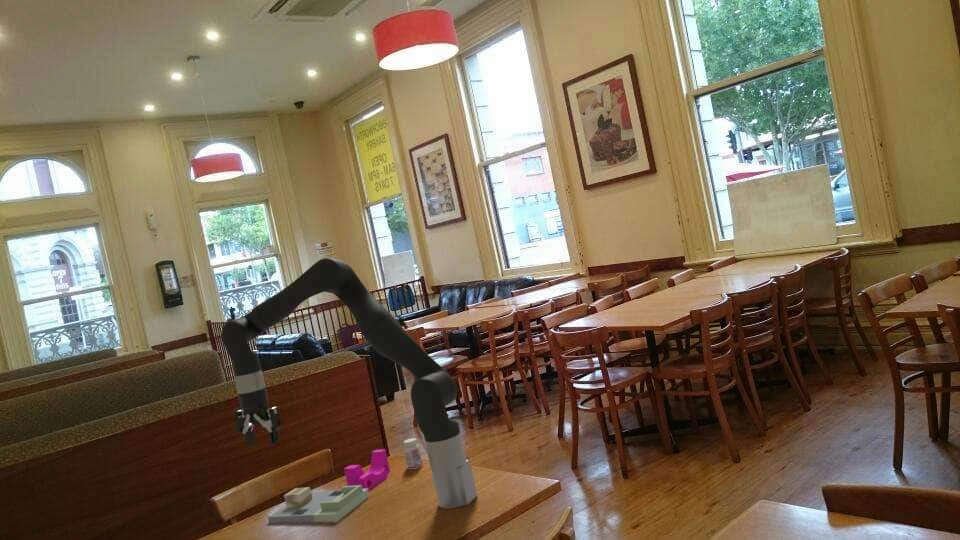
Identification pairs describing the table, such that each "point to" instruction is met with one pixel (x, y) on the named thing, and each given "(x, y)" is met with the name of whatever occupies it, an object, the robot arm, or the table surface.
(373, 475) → the toy block
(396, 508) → the table surface
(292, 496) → the birch block
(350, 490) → the board
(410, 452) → the pill bottle
